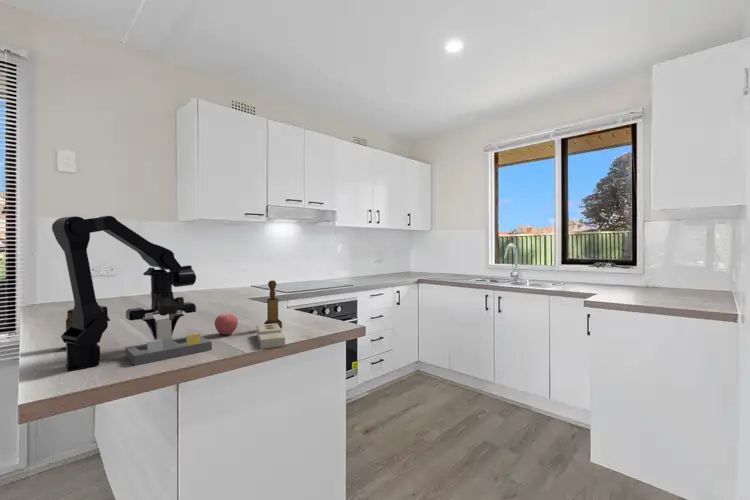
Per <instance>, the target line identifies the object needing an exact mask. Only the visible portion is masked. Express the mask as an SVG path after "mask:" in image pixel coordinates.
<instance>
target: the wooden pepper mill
mask: <svg viewBox="0 0 750 500" xmlns="http://www.w3.org/2000/svg"><path fill="white" fill-rule="evenodd" d="M267 286H268V287H269V289H270V290H269V297H270V298H269V297H268V298H267V302H266V303H267V320H265V321H264V323H263V324H274V323H277V324H278V325H279V327H280V329H281V330H282V328H283V322H282V321H281V320H280V319H279V299H278V298H276V294H277V292H275V289H276V288H277V287H276V286H277V282H276V281H275V280H269V281H268V283H267Z"/></svg>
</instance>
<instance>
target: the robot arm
mask: <svg viewBox="0 0 750 500" xmlns="http://www.w3.org/2000/svg"><path fill="white" fill-rule="evenodd" d="M51 230H52V233H53V235H54V238H55V240H56V242H57V244H58V246H60V248H61V249H62V251H63V253H64V255H65V256H64V257H65V260H66V261H65V262H66V266H67V270H68V271H67V272H68V276H69V280H70V281H69V282H70V286H71V292H72V297H73V301H74V306H73V308H72V309H73V312H72V325H71V326H70V327H69V328H68V329H67V330H66V329H65V331H64V332H63V333H62V334H61V336H60V338H61V340H62V342H63V343H64V344H65V347H66V351H65V353H66V363H65V368H66V369H67V371H68V372H69V371H71V372H72V371H75V370H81V369H86V368H90V367H96V366H99V365H100V362H101V346H100V345H99V344H98V343H100V342H101V340H102V337H103V334H104V333H105V331H106V330H107V329H108V327H109V326H108V325H109V323H108V322H111V319H110V318H109V316H108V314H109V313H108V306H104V305H99V303H98V301H97V297H96V293H95V287H94V282H93V281H94V280H93V275H92V272H91V267H90V266H91V265H90V261H89V255H88V246H89V243H90V239H91V233H97V232H102V231H103V232H104V233H106V234H108V235H109V236H111V237H113V238H114V239H116V240H117V241H119V242H120V243H122V244H123V245H125V246H126V247H129V249H132V251H135V252H136V253H137V254H138V255H140V257H141V259H142V260H143V261H145V263H146V264H147V265H149V266H150V267H148V269H147V270H146V271H145V272H143V276H149V277H150V290H151V291H150V298H151V305H150V308H148V309H144V308H142V307H135V308H134V307H133V308H127V309H126V311H125V319H126V320H128V321H138V320H140V321H142V322H145V324H146V325H147V327H148V329H149V331H150V332H151V333H150V334H152V337H153V340H154V339H156V327H155V320H156V318H155V317H154V315H159V316H166V315H168V319H170V320H171V328H172V335H173V333H174V331H175V327H176V325H177V323H178V321H179V319H181V317H184V315H185V314H184V313H186V314H189V313H191V314H192V313H196V312H197V306H196V304H195V303H193V302H190V301H187V302H185V299H184V297H183V296H179V297H174V292H173V287H175V288H180V287H188V286H194V284H195V283H196V281H197V274H196V272H195V270H194V269H193V268H192V267H193V266H192V265H183V266H182V265H181V264H180V263H179V261H178V260H177V259H176V258H175V253H174V252H173V251H172V250H170V249H169V248H166V247H164V246H162V245H158V244H156V243H153V242H151V241H149V240H147V238H145V237H143V236H141V235H140V234H138V233H137V232H136V231H134V230H132V229H131V228H129V227H128V226H126V225H125V224H123V223H122V222H120V221H119V220H118V219H117V218H116V217H115V216H113V215H101V216H98V217H94V218H92V217H91V218H84V217H81V216H64V217H59V218H57V219H56V220H55V221H54V222H53V223H52V226H51ZM156 268H159V269H156ZM66 343H68V344H66Z"/></svg>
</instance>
